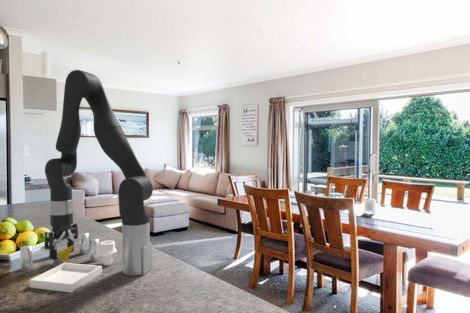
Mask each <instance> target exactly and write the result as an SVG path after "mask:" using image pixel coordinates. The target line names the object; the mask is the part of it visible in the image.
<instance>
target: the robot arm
mask: <svg viewBox="0 0 470 313" xmlns="http://www.w3.org/2000/svg"><path fill="white" fill-rule="evenodd" d="M83 99H84V100H85V101H86V102H87V104H88V105H89V108H90V109H91V112H92V114H93V134H94V135H95V138H96V139H97V142H98V144H99V146H100V148H101V149H102V151H103V153H104V154H105V155H106V156H107V157H108V158H109V159H110V160H111V161H112V162H113V163H115V165H116V166H118V168H119V170H121V172H122V174H123V176H124V179H123V180H122V181H121V182H120V184H119V186H118V192H117V193H118V196H117V197H118V212H119V216H120V217H121V244H122V245H121V246H122V247H121V248H122V249H121V250H122V252H121V254H122V274H123V275H125V276H130V277H133V276H145V275H146V274H147V273H149V272H150V271H151V270H152V269H153V242H151V241H150V240H151V239H150V238H151V237H150V233H151V232H150V231H151V230H150V226H151V225H150V221H151V220H150V213H148V212H146V211H145V201H147V200H149V199H150V198H151V196H152V195H153V192H154V187H153V183H152V180H151V179H150V177H149V176H148V175H147V173H146V172H145V170H144V168H143V167H142V165H141V164H140V162H139V161H138V160H139V159H138V158H137V157H136V154H135V152H134V150H133V148H132V146H131V145H130V143H129V140H128V138H127V136H126V134H125V132H124V130H123V128H122V126H121V124H120V123H119V120H118V119H117V117H116V114H115V112H114V110H113V109H112V106H111V104H110V102H109V100H108V97H107V94H106V92H105V89H104V86H103V84H102V82H101V80H100V78H99V77H98V76H96V75H95V74H93V73H91V72H87V71H84V70H80V69H74V70H71V71H70V72H69V73H68V75H66V78H65V84H64V90H63V104H62V115H61V122H60V128H59V132H58V134H57V135H58V136H57V139H56V143H55V150H56V151H57V152H59V153H61V155H60V157H57V158H56V157H55V158H50V159H49V160H47V162H46V164H45V167H44V173H45V177H46V180H47V184H48V187H49V190H50V203H49V220H50V221H49V225H50V226H51V227H52V230H51V231H45V233H44V250H48V251H49V250H50V258H49V259H50V260H53V261H54V260H56V259H57V246H58V244H59V245H60V244H61V243H62V241H64V240H66V241H67V243H66V244H67V247H66V248H68V247H70V246H72V245H74V247H73V249H72V251H71V252H70V253H73V252H74V248H75V241H76V240H78V239H79V229H78V226H79V225H78V224H77V223H74V203H73V188H72V185H71V184H70V183H66V182H65V177H70V176H72V175H74V173H75V171H76V170H77V165H78V164H77V163H78V154H77V153H78V152H77V149H78V146H79V141H80V140H81V135H82V134H81V133H82V126H81V120H80V106H81V103H82V100H83ZM55 239H56V240H55ZM54 243H55V245H54V246H53V244H54Z"/></svg>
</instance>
